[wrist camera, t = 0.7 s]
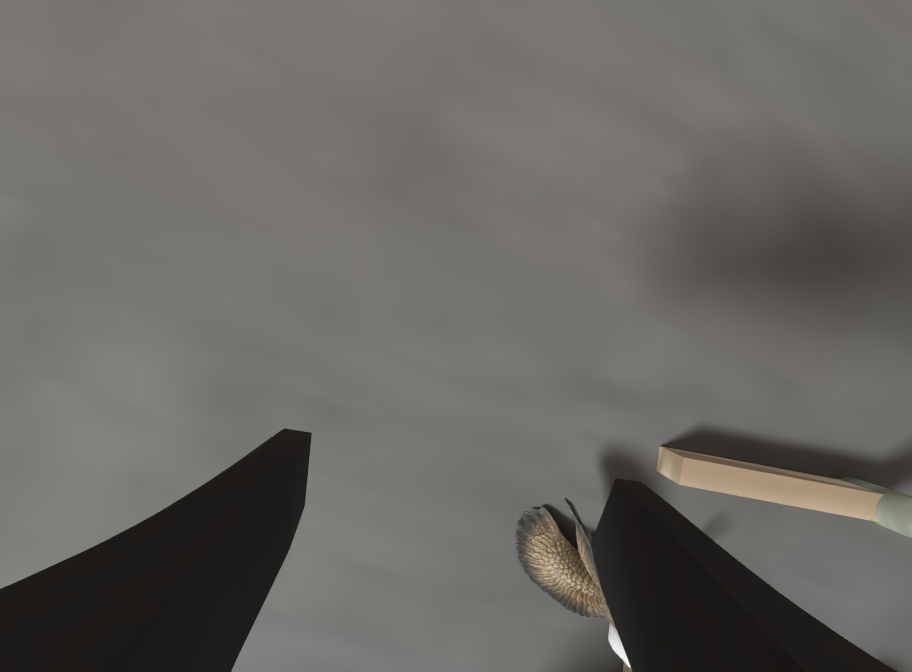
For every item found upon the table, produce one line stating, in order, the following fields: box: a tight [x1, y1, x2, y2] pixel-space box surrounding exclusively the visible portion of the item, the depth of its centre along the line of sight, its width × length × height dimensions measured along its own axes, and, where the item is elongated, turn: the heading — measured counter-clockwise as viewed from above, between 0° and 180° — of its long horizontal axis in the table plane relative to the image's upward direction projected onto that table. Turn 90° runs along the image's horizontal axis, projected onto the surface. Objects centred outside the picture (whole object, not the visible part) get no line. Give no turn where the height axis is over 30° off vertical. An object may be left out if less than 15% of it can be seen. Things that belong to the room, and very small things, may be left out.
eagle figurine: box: [515, 498, 631, 668], centre depth 25 cm, size 8×7×9 cm
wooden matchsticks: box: [622, 446, 912, 672], centre depth 25 cm, size 16×14×5 cm
